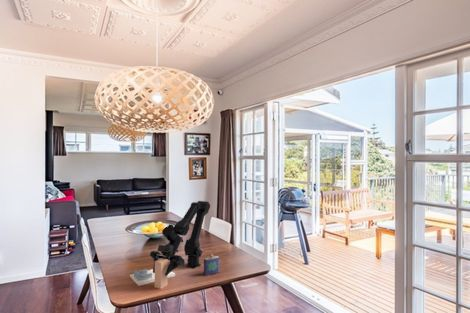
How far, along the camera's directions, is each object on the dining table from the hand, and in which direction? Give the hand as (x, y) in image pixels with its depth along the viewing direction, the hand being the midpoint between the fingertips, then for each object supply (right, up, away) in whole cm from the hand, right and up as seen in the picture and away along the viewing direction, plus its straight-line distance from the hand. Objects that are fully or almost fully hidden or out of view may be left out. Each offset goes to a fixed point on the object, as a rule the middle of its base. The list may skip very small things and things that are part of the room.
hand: (159, 274), depth 145 cm
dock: (-7, -6, +13) cm, 16 cm away
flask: (+25, -7, +17) cm, 31 cm away
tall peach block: (+1, -7, +1) cm, 7 cm away
